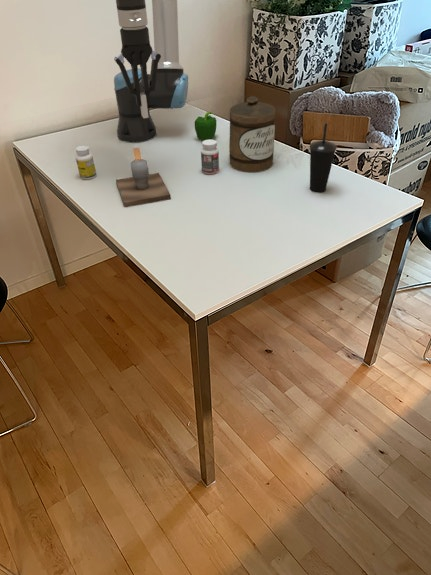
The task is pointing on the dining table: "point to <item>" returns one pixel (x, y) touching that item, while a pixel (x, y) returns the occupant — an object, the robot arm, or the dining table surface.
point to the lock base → (142, 190)
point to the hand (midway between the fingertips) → (145, 116)
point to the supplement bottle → (85, 163)
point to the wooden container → (251, 135)
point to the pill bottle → (210, 157)
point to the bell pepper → (205, 127)
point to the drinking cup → (321, 163)
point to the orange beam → (139, 165)
